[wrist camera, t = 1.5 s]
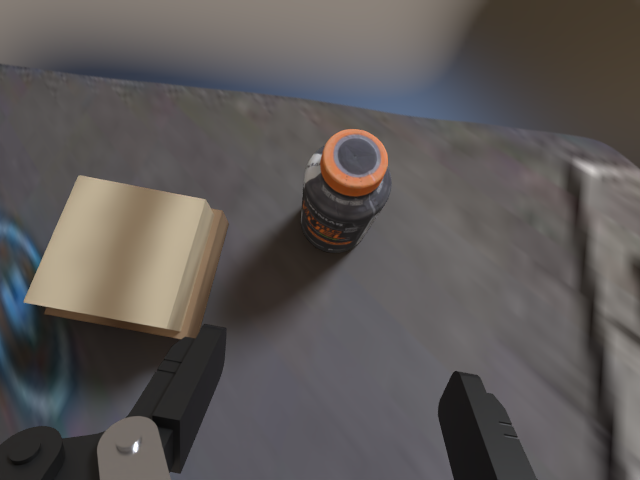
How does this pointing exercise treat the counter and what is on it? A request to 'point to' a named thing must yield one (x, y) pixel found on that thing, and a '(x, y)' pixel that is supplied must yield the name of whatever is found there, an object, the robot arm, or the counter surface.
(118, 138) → the counter surface
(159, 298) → the tower base
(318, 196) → the pill bottle
